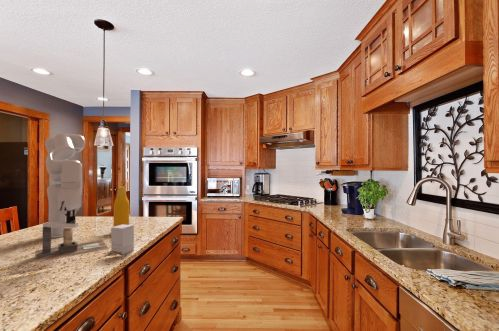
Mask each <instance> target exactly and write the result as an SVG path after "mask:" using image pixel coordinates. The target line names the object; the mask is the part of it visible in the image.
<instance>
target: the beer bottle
mask: <svg viewBox="0 0 499 331" xmlns="http://www.w3.org/2000/svg"><path fill="white" fill-rule="evenodd" d="M122 224H124V225H130V200H129V199H128V196H127V190H126V186H118V187H117V192H116V198H115V200H114V201H113V227H115V226H119V225H122Z"/></svg>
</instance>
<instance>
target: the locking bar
mask: <svg viewBox="0 0 499 331" xmlns="http://www.w3.org/2000/svg"><path fill="white" fill-rule="evenodd" d="M47 227H64V228H73V229H74V228H78V227H79V223H78V222H77V220H75V221H71V223H51V222H49V221H48V222H43V223H42V229H43V228H47Z"/></svg>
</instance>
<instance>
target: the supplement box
mask: <svg viewBox="0 0 499 331" xmlns="http://www.w3.org/2000/svg"><path fill="white" fill-rule="evenodd" d="M134 227H135V226H134V225H132V224H129V225H124V224H122V225H119V226H115V227H114V226H112V227H110V230H111V233H110V240H111V242H110V243H111V250H110V251H112V252H115V253H116V252H117V253H116V254H117V255H125V254H127V253H130V252H133V251H134V250H135V249H134V248H135V246H134V245H135V236H134V235H135V232H134V231H135V230H134V229H135V228H134Z"/></svg>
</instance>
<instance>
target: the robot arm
mask: <svg viewBox="0 0 499 331" xmlns="http://www.w3.org/2000/svg"><path fill="white" fill-rule="evenodd" d="M44 144H45V145H44V146H45V150H46V152H47V156H46V157H45V168H46V171H47V173H48V174H49V175H50V179H51V181H53V182H61V183H54V184H50V185H49V186H47V189H46V194H47V200H48V222H51V223H71V221H76V216H77V212H78V211H80V208H82V205H83V204H82V202H83V201H82V200H83V199H82V194H83V168H84V167H83V164H82V163H81V161H79V160H77V159H72V157H74V156H75V154H76V153H81V152H82V151H83V150H84V149H85V147H86V138H85V137H84V136H83V135H81V134H78V133H77V134H75V133H58V134H56V135H55V136H54V137H48V138H46V140H45V143H44ZM70 158H71V159H70ZM63 228H64V227H51V239H56V238H63Z"/></svg>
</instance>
